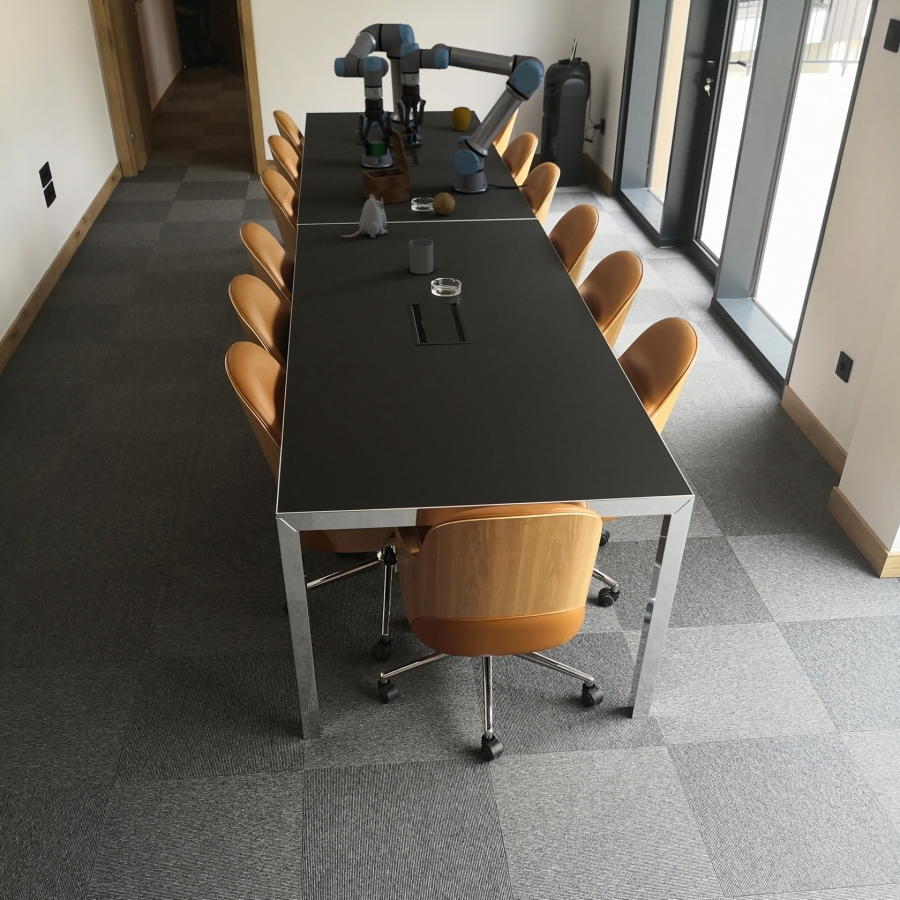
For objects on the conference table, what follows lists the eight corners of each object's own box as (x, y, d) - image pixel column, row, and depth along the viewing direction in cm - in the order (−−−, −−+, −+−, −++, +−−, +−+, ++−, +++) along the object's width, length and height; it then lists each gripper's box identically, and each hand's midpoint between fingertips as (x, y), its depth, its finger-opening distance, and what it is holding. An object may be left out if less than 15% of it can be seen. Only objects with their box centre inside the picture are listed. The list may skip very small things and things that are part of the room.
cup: (409, 265, 311) (408, 238, 306) (432, 265, 312) (431, 238, 307) (410, 274, 304) (409, 246, 299) (433, 273, 305) (433, 246, 299)
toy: (393, 232, 342) (392, 194, 333) (348, 247, 327) (345, 208, 319) (378, 227, 347) (376, 190, 339) (332, 242, 332) (330, 203, 324)
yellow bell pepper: (471, 132, 486) (471, 108, 479) (451, 132, 486) (451, 108, 479) (470, 128, 495) (471, 104, 488) (452, 128, 495) (452, 104, 488)
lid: (398, 133, 362) (417, 126, 364) (387, 127, 371) (406, 120, 373) (408, 173, 372) (426, 166, 374) (397, 166, 381) (415, 159, 383)
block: (376, 157, 366) (375, 144, 363) (367, 155, 369) (366, 142, 366) (385, 155, 370) (384, 141, 367) (376, 153, 373) (375, 139, 370)
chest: (373, 205, 373) (372, 178, 367) (364, 197, 382) (362, 171, 376) (409, 200, 379) (409, 174, 373) (399, 192, 388) (398, 167, 382)
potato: (453, 208, 369) (453, 189, 365) (456, 218, 357) (456, 199, 353) (431, 208, 368) (430, 189, 364) (432, 218, 356) (432, 199, 352)
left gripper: (353, 101, 351) (356, 159, 363) (399, 97, 358) (401, 154, 370) (347, 98, 357) (350, 155, 369) (393, 94, 364) (395, 150, 376)
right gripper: (397, 86, 354) (399, 146, 367) (430, 84, 359) (431, 142, 372) (390, 83, 360) (392, 142, 373) (423, 81, 365) (424, 138, 378)
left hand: (376, 154), depth 369 cm, fingers closed on block, 7 cm apart
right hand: (412, 142), depth 372 cm, fingers closed on lid, 2 cm apart
